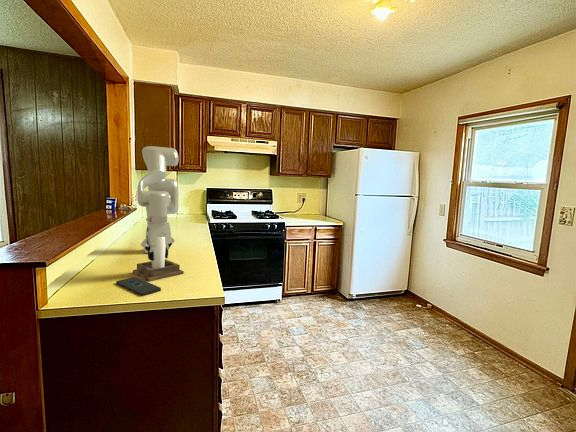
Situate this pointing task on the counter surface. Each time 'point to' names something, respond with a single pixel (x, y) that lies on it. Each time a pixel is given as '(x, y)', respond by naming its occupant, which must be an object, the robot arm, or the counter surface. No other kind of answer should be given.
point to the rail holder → (157, 270)
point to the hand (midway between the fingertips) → (158, 258)
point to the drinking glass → (159, 253)
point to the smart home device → (138, 286)
